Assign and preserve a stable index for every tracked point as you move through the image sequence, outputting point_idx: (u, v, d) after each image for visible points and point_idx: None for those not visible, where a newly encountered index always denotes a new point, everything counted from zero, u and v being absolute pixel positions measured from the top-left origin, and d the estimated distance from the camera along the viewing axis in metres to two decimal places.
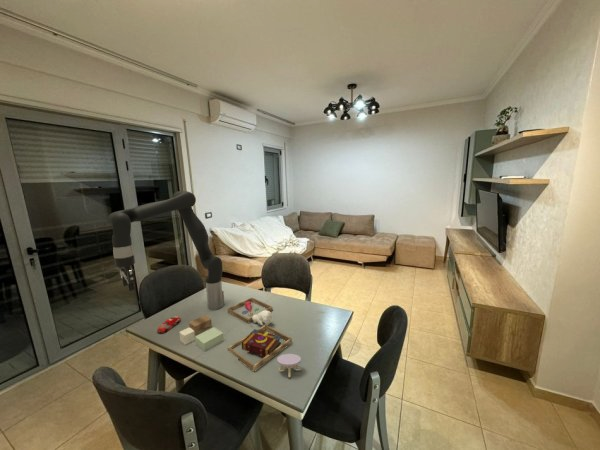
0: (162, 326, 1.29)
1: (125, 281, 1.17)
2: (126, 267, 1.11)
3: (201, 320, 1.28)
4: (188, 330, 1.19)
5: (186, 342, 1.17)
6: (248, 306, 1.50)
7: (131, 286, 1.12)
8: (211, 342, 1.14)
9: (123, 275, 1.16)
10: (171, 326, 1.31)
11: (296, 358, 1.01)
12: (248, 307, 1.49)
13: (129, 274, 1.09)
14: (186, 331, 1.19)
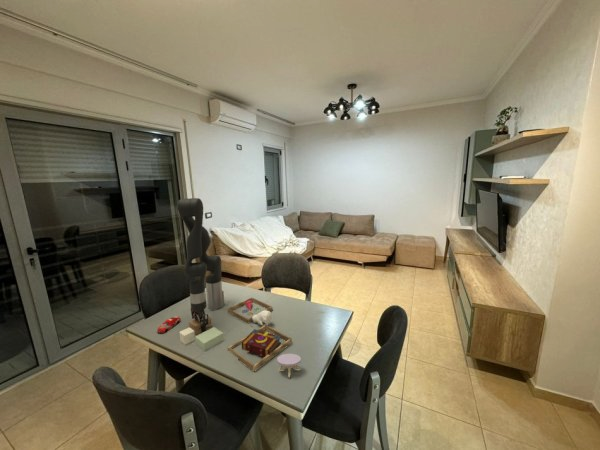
0: (162, 326, 1.29)
1: None
2: (201, 311, 1.24)
3: None
4: (188, 330, 1.19)
5: (186, 342, 1.17)
6: (249, 305, 1.51)
7: (204, 328, 1.26)
8: (211, 342, 1.14)
9: (196, 317, 1.29)
10: (171, 326, 1.31)
11: (296, 358, 1.01)
12: (248, 306, 1.50)
13: (204, 319, 1.23)
14: (186, 331, 1.19)
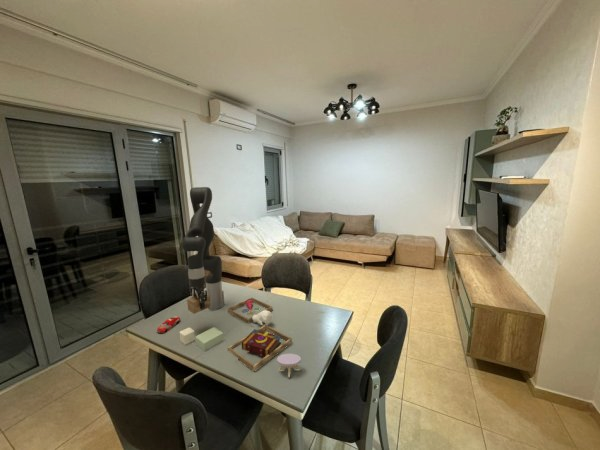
0: (162, 326, 1.29)
1: None
2: (200, 287, 1.20)
3: None
4: (188, 330, 1.19)
5: (186, 342, 1.17)
6: (249, 304, 1.52)
7: (203, 305, 1.22)
8: (211, 342, 1.14)
9: (194, 294, 1.25)
10: (171, 326, 1.31)
11: (296, 358, 1.01)
12: (249, 305, 1.51)
13: (203, 295, 1.19)
14: (186, 331, 1.19)
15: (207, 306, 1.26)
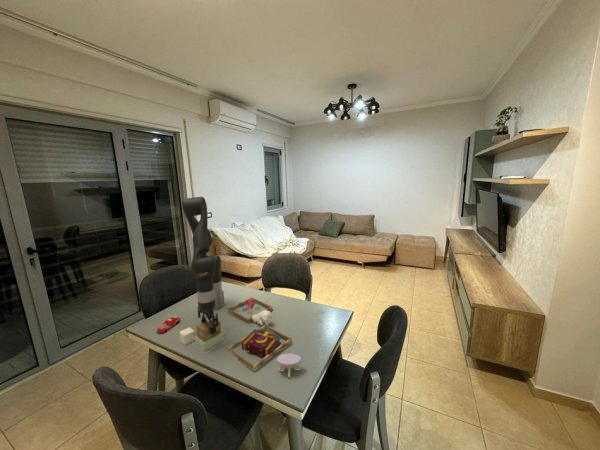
0: (161, 326, 1.29)
1: None
2: (210, 311, 1.12)
3: None
4: (188, 330, 1.19)
5: (186, 342, 1.17)
6: (250, 303, 1.53)
7: (214, 329, 1.13)
8: (211, 342, 1.14)
9: (203, 317, 1.17)
10: (171, 326, 1.31)
11: (296, 358, 1.01)
12: (249, 304, 1.52)
13: (214, 319, 1.10)
14: (186, 331, 1.19)
15: (217, 332, 1.17)
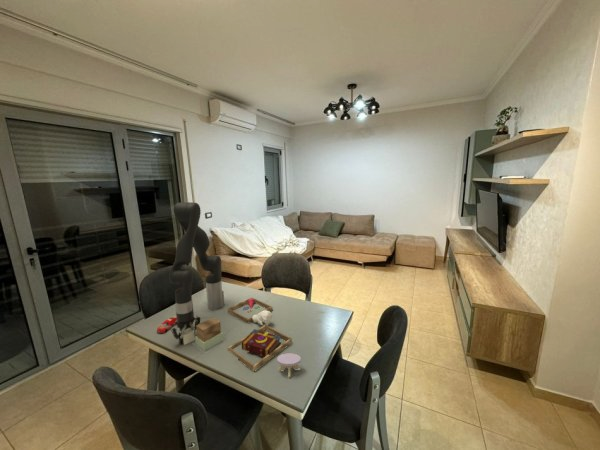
0: (161, 326, 1.29)
1: None
2: (177, 321, 1.15)
3: (209, 323, 1.16)
4: (188, 330, 1.19)
5: (186, 342, 1.17)
6: (250, 303, 1.54)
7: (179, 340, 1.16)
8: (211, 342, 1.14)
9: None
10: (171, 326, 1.31)
11: (296, 358, 1.01)
12: (250, 304, 1.53)
13: None
14: (186, 331, 1.19)
15: (217, 332, 1.17)
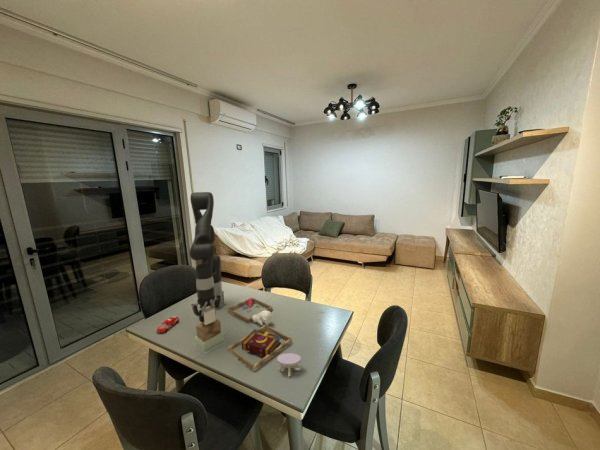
0: (161, 326, 1.29)
1: None
2: None
3: None
4: (209, 308, 1.15)
5: (207, 320, 1.13)
6: (249, 302, 1.54)
7: (199, 318, 1.13)
8: (211, 342, 1.14)
9: (210, 305, 1.17)
10: (171, 326, 1.31)
11: (296, 357, 1.01)
12: (249, 303, 1.54)
13: (192, 308, 1.10)
14: (207, 309, 1.15)
15: (217, 332, 1.17)
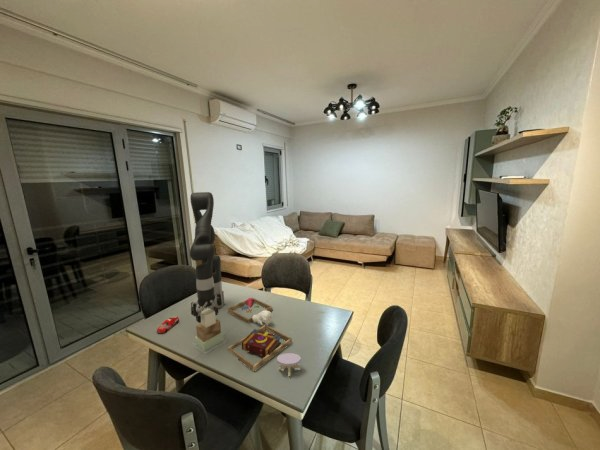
0: (161, 326, 1.29)
1: (214, 310, 1.18)
2: (198, 298, 1.11)
3: None
4: (209, 311, 1.16)
5: (207, 323, 1.13)
6: (249, 302, 1.54)
7: (196, 318, 1.11)
8: (211, 342, 1.14)
9: None
10: (171, 326, 1.31)
11: (296, 357, 1.01)
12: (249, 303, 1.54)
13: (191, 306, 1.09)
14: (207, 311, 1.15)
15: (217, 332, 1.17)
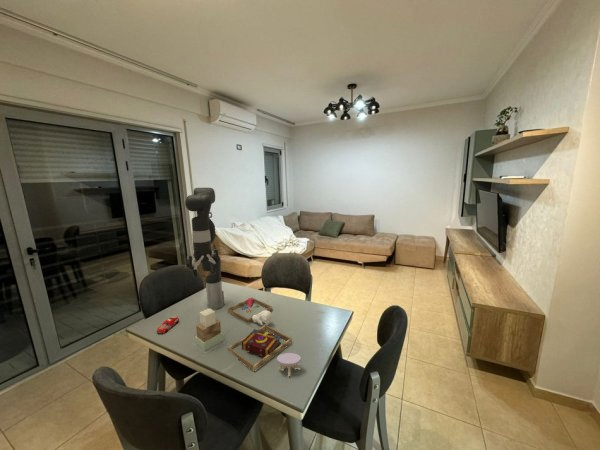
0: (161, 327, 1.28)
1: (211, 267, 1.14)
2: (194, 252, 1.07)
3: None
4: (209, 311, 1.16)
5: (207, 323, 1.13)
6: (249, 302, 1.54)
7: (192, 272, 1.07)
8: (211, 342, 1.14)
9: (208, 260, 1.13)
10: (171, 326, 1.31)
11: (296, 357, 1.01)
12: (249, 303, 1.54)
13: (187, 259, 1.05)
14: (207, 311, 1.15)
15: (217, 332, 1.17)
